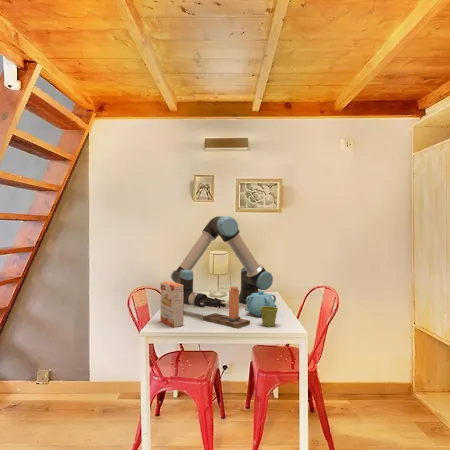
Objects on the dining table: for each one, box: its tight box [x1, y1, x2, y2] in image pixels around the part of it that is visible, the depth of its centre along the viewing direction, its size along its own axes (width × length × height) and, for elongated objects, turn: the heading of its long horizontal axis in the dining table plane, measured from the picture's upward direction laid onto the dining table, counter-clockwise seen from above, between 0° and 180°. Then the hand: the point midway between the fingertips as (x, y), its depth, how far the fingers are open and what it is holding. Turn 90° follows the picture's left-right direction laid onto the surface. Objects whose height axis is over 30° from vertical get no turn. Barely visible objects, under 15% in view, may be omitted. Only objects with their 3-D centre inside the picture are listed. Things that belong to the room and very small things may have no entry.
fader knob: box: [227, 286, 241, 321], centre depth 194 cm, size 4×6×16 cm, turn 140°
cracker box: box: [160, 280, 184, 328], centre depth 193 cm, size 14×6×21 cm, turn 38°
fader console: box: [202, 312, 251, 329], centre depth 198 cm, size 24×10×2 cm, turn 50°
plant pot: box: [260, 306, 279, 327], centre depth 193 cm, size 9×9×9 cm
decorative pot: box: [244, 290, 277, 318], centre depth 216 cm, size 16×16×14 cm
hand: (231, 306), depth 195 cm, fingers closed
